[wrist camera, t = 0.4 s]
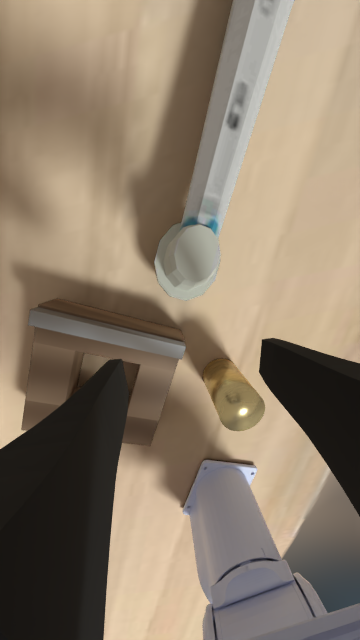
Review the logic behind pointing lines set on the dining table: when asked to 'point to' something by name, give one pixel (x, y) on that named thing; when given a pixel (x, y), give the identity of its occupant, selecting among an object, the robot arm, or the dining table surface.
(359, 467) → the robot arm
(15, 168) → the dining table surface
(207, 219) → the grey long knobbed part
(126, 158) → the dining table surface
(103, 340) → the jig
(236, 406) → the tan cylinder
